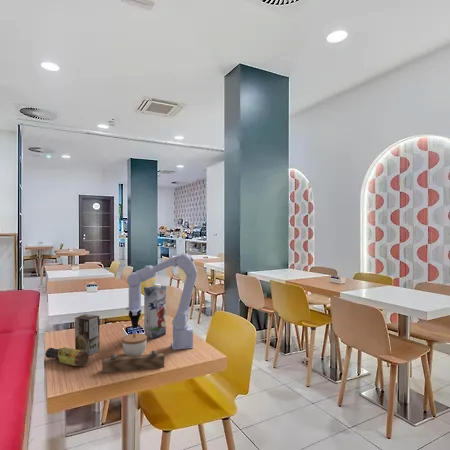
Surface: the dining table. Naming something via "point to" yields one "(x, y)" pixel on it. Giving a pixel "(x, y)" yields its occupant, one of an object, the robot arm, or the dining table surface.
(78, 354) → the sauce bottle
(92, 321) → the coffee box
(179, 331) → the robot arm
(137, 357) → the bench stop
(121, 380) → the dining table surface
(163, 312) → the juice carton
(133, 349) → the lidded jar
